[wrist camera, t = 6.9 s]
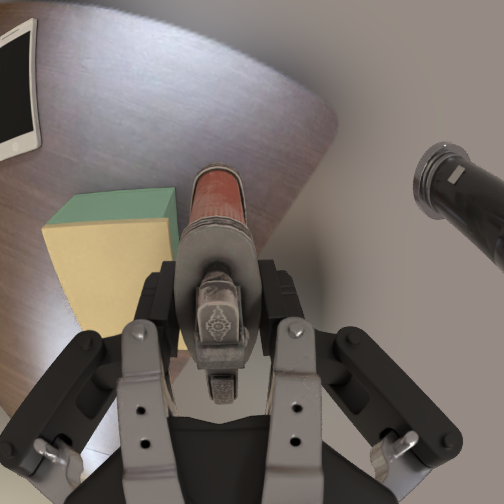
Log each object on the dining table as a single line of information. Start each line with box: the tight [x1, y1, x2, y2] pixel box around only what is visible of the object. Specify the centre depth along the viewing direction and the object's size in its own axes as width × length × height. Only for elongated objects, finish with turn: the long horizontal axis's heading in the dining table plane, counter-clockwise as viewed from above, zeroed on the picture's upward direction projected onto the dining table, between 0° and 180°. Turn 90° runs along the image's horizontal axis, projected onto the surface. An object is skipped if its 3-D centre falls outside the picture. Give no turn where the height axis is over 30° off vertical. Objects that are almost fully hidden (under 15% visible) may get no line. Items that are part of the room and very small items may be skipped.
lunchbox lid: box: [42, 218, 187, 350], centre depth 24 cm, size 12×16×1 cm
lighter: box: [174, 163, 261, 405], centre depth 13 cm, size 8×3×10 cm, turn 178°
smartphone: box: [0, 19, 41, 161], centre depth 16 cm, size 7×16×1 cm, turn 0°
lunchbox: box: [46, 187, 179, 261], centre depth 27 cm, size 12×16×7 cm
